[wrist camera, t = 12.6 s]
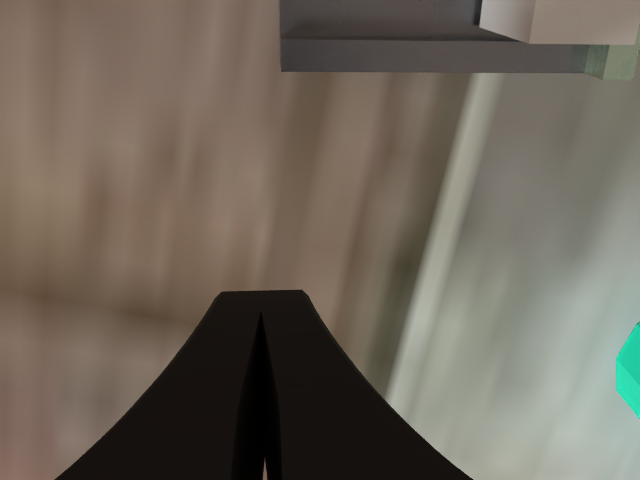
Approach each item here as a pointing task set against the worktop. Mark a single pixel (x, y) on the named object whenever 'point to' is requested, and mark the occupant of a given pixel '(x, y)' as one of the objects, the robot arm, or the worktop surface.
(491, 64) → the slider track
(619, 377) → the candle
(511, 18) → the slider
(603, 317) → the worktop surface
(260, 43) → the worktop surface
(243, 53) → the worktop surface
